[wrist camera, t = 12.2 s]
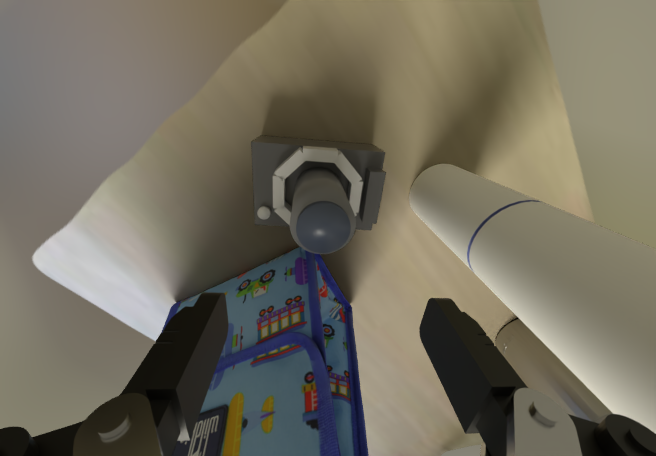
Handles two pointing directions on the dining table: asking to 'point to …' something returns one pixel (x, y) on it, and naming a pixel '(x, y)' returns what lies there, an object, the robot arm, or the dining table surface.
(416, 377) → the dining table surface
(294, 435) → the lunch bag
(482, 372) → the robot arm
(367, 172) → the camera body
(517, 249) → the cylindrical container
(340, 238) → the lens
